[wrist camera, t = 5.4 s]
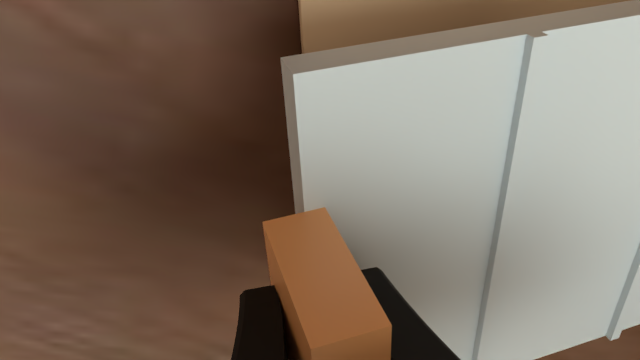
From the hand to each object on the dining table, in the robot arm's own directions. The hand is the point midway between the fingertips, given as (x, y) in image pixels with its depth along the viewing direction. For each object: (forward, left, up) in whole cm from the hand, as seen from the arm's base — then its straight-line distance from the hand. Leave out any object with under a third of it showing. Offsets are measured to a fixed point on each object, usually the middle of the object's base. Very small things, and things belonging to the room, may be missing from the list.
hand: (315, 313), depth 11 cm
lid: (0, -7, -2) cm, 7 cm away
